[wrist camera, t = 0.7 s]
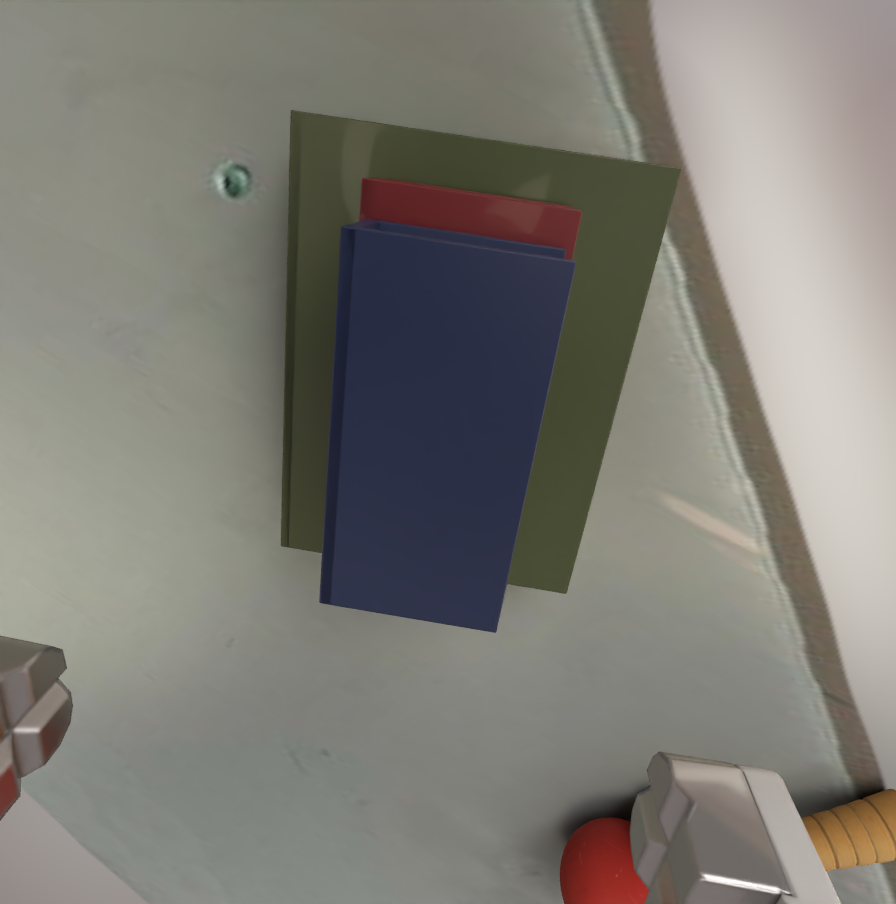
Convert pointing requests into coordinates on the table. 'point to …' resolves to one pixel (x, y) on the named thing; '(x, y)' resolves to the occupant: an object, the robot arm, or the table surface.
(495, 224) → the burgundy book
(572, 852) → the kendama
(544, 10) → the table surface
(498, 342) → the navy book
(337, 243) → the olive book
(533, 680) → the table surface
